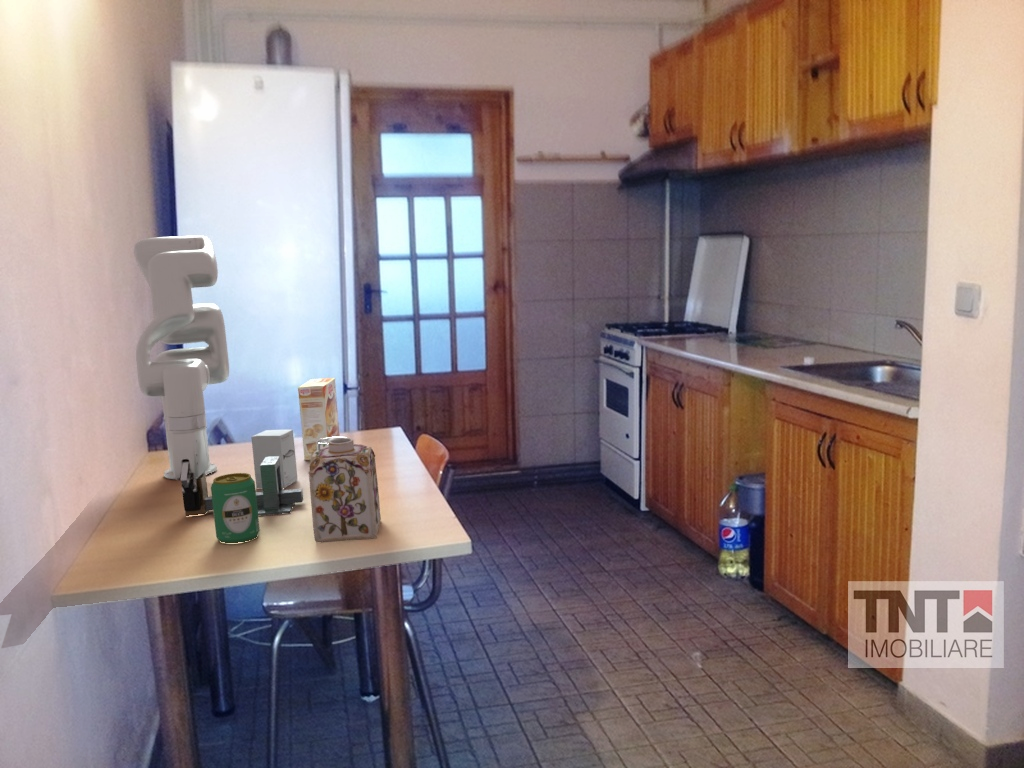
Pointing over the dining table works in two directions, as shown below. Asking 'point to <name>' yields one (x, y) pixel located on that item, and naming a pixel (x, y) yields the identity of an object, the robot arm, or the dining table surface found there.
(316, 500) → the decorative jar
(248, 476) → the beverage can
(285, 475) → the supplement box
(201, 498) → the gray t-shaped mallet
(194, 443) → the robot arm
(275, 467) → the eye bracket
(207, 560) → the dining table surface
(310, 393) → the coffeecake box
